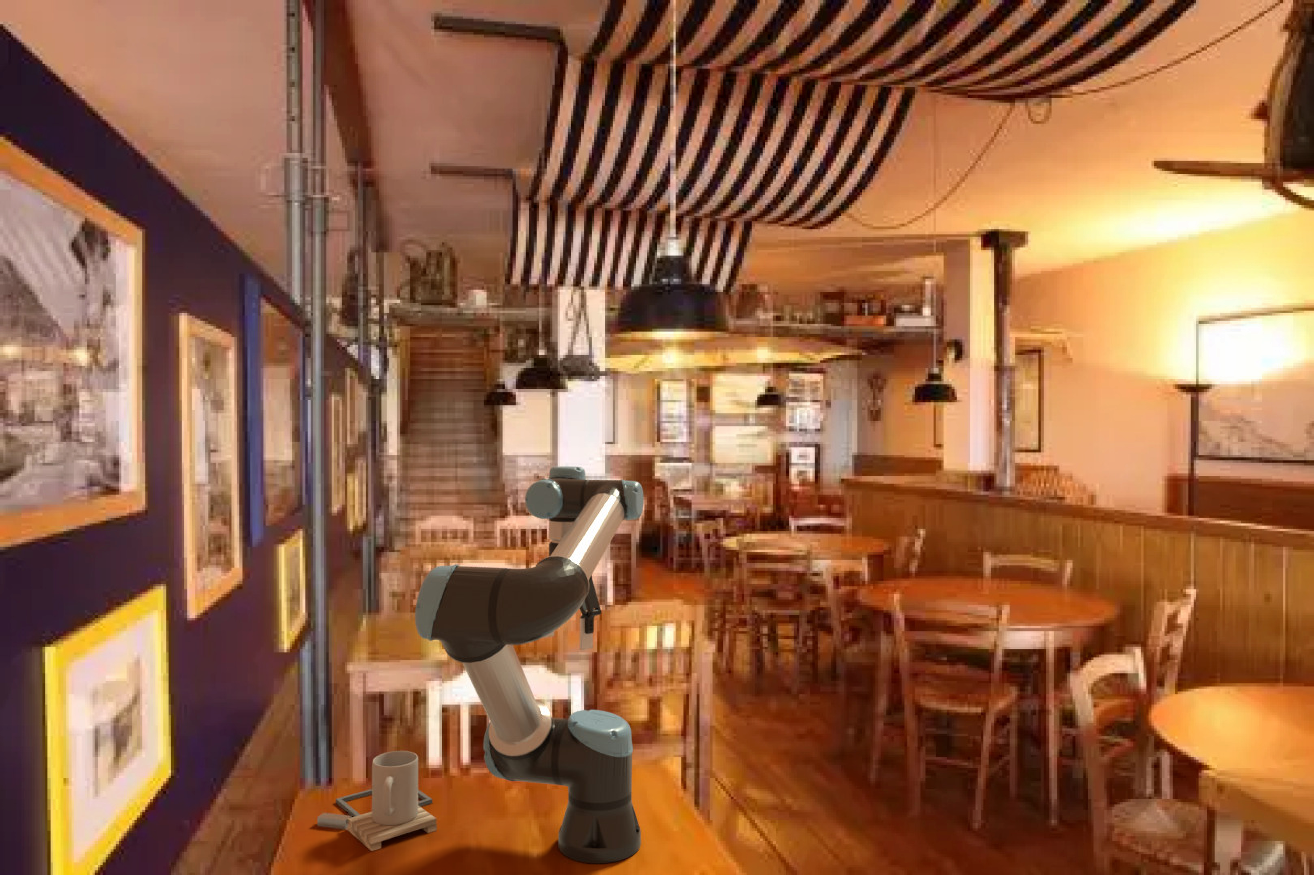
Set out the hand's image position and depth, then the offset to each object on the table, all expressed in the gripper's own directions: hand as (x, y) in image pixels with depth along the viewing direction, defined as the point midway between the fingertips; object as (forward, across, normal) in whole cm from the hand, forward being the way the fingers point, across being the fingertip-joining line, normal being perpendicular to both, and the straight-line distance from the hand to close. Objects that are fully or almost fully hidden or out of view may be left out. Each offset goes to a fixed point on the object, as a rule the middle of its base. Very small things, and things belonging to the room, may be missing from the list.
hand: (566, 642), depth 184 cm
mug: (+30, +7, +35) cm, 46 cm away
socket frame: (+32, +20, +30) cm, 49 cm away
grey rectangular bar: (+32, +17, +42) cm, 55 cm away
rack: (+32, +8, +34) cm, 48 cm away
